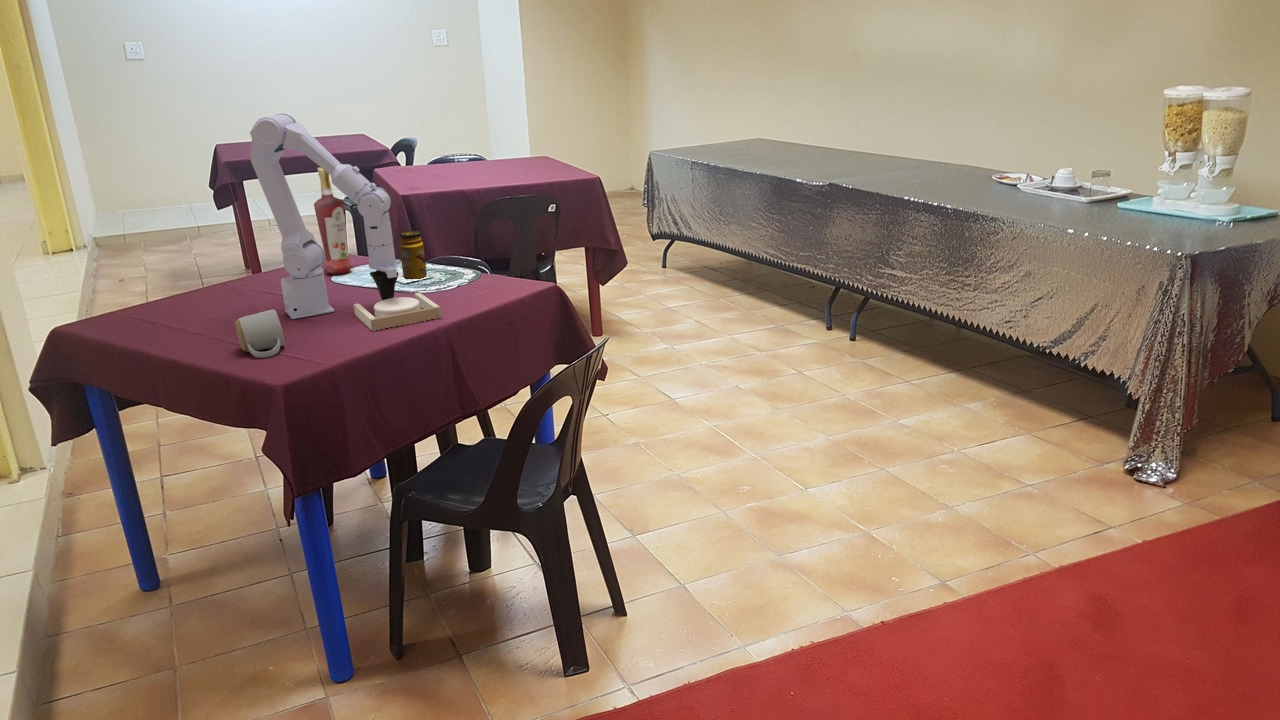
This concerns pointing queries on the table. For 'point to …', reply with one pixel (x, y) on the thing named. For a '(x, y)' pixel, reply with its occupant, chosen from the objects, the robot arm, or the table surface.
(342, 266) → the liquor
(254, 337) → the ceramic mug
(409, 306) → the coaster
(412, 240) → the condiment
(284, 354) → the table surface
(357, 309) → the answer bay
